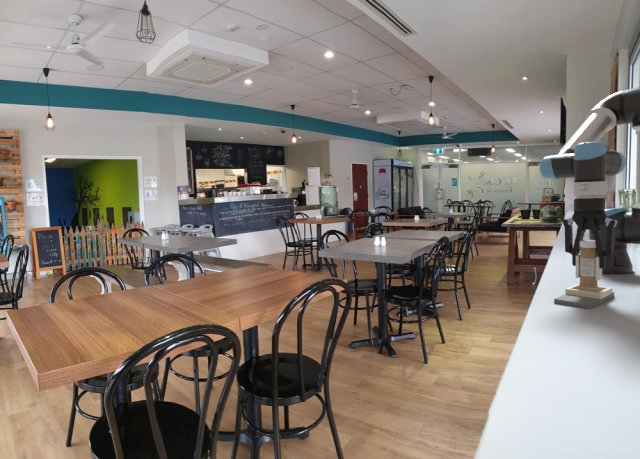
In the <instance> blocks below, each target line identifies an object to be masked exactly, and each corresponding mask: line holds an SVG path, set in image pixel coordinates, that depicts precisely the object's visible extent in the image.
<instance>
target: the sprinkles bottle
mask: <svg viewBox="0 0 640 459" xmlns="http://www.w3.org/2000/svg"><path fill="white" fill-rule="evenodd" d="M579 255H580V278H579V284H580V286H582V287H586V288H596V287H598V286H599V285H598V280H595V272H596V257H598V250H597V246H596V242H595V240H589V239H583V240H581V241H580V254H579Z"/></svg>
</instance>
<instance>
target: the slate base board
mask: <svg viewBox="0 0 640 459" xmlns="http://www.w3.org/2000/svg"><path fill="white" fill-rule="evenodd" d="M564 291H565V293H564V294H562V295H560V296H557V297H555V298H553V303H554V304H556V305H557V304H558V305H564V306H569V307H576V308H581V309H587V310H591V309H593V308H595V307H597V306H599V305H601V304H602V303H604V302H606V301H608V300H610V299H612V298H614V296H615V292H614V291H613V287H608V286H607V287H606V286H600V285H598V287H596V288H586V287H582V286H580V283H576V284H574V285H572V286H569V287H567V288H565V290H564Z"/></svg>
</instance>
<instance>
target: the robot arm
mask: <svg viewBox="0 0 640 459" xmlns="http://www.w3.org/2000/svg"><path fill="white" fill-rule="evenodd" d="M626 124H627V125H628V124H631V128H632V129H633V131H636V133H637V138H636V139H637V148H636V149H637V159H636V160H637V161H636V162H637V163H636V164H637V175H636V178H637V179H636V180H637V181H636V182H637V187H636V188H637V190H636V192H637V193H636V194H637V197H636V199H637V200H636V201H637V202H635V204H634V205H632V206H631V210H629V209H628V207H626V206H625V207H615V208H607V209H606V198H605V197H604V196H605V195H606V177H612V176H616V175H618V174H621V173H622V172H623V171H624V169H625V168H626V165H627V160H626V157H625V155H624V154H623V153H621V152H620V151H616V150H614V149H609V150H607V148H606V147H607V146H606V142H604V141H602V140H601V138H602V137H603V136H604V135H605V133H607V132H609V131H611V130H612V129H613V128H615V127H618V126H621V125H626ZM600 140H601V141H600ZM539 171H540V175H541V176H542V177H543V178H544V179H547V180H551V179H552V180H559V179H560V180H561V179H573V196H574V197H575V198H574V199H573V214H572V216H571V217H569V218H565V219H562V224H563V227H564V252H565V253H568V254H570V255H571V258H572V262H571V264H572V266H573V267H575V279H580V241H581V240H584V236H585V233H586V231H587V230H588V231H589V232H588V235H589V236H588V237H589V239H588V240H595V242H596V246H597V250H598V257H596V272H595V280H597V281H600V280H603V274H615V275H616V274H619V275H620V274H628V273H629V272H630V273H633V267H634V266H633V263H632V260H631V257H630V255H629V253H628V245H629V244H630V245H640V86H637V87H634V88H629V89H622V90H620V91H616V92H615V93H613V94H610V95H608V96H606V98H604V99H602V100H601V101H599V102H598V103H596V104H595V105H594V106H593V107H592V108H591V109H590V110H589V111H588V113H587V114H586V116H585V120H584V122H583V123H582V124H581V125H580V126H578V128H577V129H576V130H575V132H574V133H573V134H572V135H571V136H570V138H569V139H568V140H567V141H566V142H565V143H564V145H562V147H561V148H560V149H559V150H558V151H557V153H556V154H555V155H548V156H544V157H543V158H542V159H541V161H540V164H539ZM574 224H575V225H576V226H577V228H576V234H575V235H576V236H575V239H573V236H574V235H573V225H574Z"/></svg>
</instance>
